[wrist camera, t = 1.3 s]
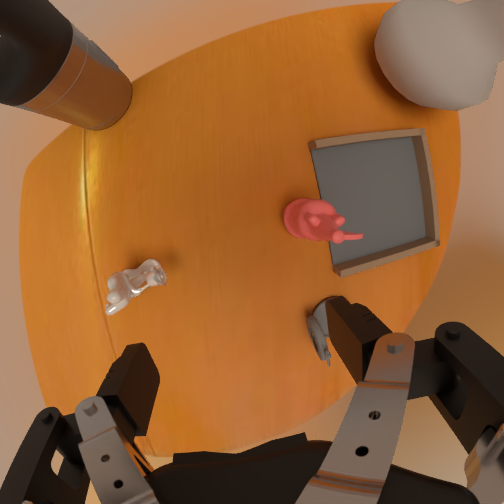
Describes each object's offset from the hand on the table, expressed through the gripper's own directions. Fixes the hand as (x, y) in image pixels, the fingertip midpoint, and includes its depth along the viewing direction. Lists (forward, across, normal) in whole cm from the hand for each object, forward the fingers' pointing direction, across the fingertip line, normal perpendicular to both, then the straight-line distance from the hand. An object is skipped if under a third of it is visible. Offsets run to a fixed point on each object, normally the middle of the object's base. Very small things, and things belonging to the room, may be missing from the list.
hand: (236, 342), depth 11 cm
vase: (+26, -31, -19) cm, 45 cm away
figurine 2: (+26, -9, 0) cm, 28 cm away
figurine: (+26, +13, +2) cm, 29 cm away
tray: (+26, -21, 0) cm, 34 cm away
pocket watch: (+26, -10, +16) cm, 32 cm away
